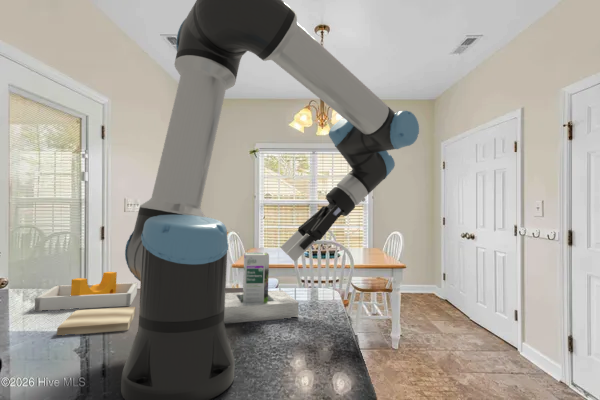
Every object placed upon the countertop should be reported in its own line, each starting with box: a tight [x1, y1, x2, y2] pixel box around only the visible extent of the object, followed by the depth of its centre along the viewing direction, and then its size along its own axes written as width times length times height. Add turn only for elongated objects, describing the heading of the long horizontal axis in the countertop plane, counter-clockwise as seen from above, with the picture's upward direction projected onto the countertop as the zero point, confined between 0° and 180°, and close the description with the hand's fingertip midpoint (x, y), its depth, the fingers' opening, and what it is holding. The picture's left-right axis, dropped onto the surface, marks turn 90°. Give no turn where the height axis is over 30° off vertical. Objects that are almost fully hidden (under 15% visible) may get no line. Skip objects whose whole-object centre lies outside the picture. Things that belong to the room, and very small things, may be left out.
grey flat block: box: [224, 289, 300, 325], centre depth 82 cm, size 13×18×4 cm
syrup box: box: [242, 251, 270, 303], centre depth 82 cm, size 6×6×14 cm
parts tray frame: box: [33, 282, 138, 312], centre depth 88 cm, size 14×20×3 cm
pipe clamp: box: [70, 271, 118, 296], centre depth 88 cm, size 12×4×6 cm, turn 169°
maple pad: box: [56, 306, 136, 336], centre depth 71 cm, size 12×12×2 cm
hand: (286, 254), depth 84 cm, fingers open, 13 cm apart
